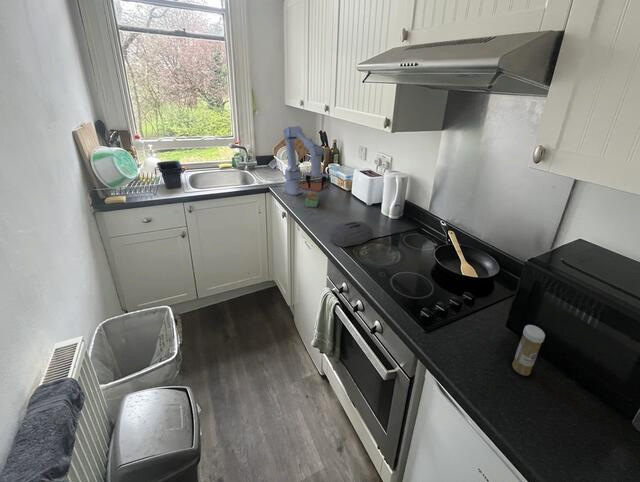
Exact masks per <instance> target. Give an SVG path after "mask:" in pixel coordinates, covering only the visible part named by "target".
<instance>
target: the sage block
mask: <svg viewBox="0 0 640 482" xmlns="http://www.w3.org/2000/svg"><path fill="white" fill-rule="evenodd" d="M318 205H319V196H316V198H315V200H308V195H307V196H306V198H305V199H304V207H306V208H307V207H309V208H317V207H318Z"/></svg>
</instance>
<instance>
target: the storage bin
mask: <svg viewBox="0 0 640 482" xmlns="http://www.w3.org/2000/svg"><path fill="white" fill-rule="evenodd" d="M182 170H183V165H182V163H180V161H179V160H166V161H159V162H156V167H154V174H155V175H157V171H159V173H160V174H161V176H162V181H163V184H164V185H165V188H166V189H167V190H172V189H180V188H182V178H181V177H182V176H181V171H182Z"/></svg>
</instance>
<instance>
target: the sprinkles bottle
mask: <svg viewBox="0 0 640 482" xmlns="http://www.w3.org/2000/svg"><path fill="white" fill-rule="evenodd" d="M545 337H546V334H545V332H544V331H543V329H541V328H540V327H538V326H536V325H533V324H527V325H525V326H524V328H523V331H522V336H521V339H520V341H519V344H518V346H517V349H516V352H515V355H514V359H513V361H512V363H511V366H512V368H513V370H514V371H515V372H516V373H518V374H519V375H521V376H530V375H531V373H532V370H533V367H534V365H535V362H536V360H537V357H538V354H539V351H540V348H541V345H542V343H543V342H544V341H545Z"/></svg>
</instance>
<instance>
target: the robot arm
mask: <svg viewBox="0 0 640 482" xmlns="http://www.w3.org/2000/svg"><path fill="white" fill-rule="evenodd" d="M283 137H284V141H285V146H286V157H287V163H288V167H286V168H285V170H284V172H285V173H284V178H285V180H284V183H283V194H286V195H290V196H298V195H299V194H302V191H300V188H299V186H300V180H301V179H302V172H301V168H300V167H299V166H298V165H297V157H296V147H295V146H296V145H295V141H296V140H297V139H299V140H300V141H301V142H302V143H303V146H304V148H306V150H308V152H309V155H310V160H311V167H310V168H311V172H303V177H304V178H305V180H306V183H308V186H309V188H310V186H311V185H310V182H311V178H321V185H322V186H321V189H322V190H323V189H324V188H323V185H325V183H326V180H327V179H329V173H324V172H322V156H323V155H324V153H325V152H324V151H325V150H324V147H323V146H322V145H319V144H317V143H316V142H315V141H314V140H313V139H312V138H311V137H309V138H308V137H307V136H306V134H305V133H304V132H303V129H302V127H301V126H299V125H297V126H286V127H284V129H283Z"/></svg>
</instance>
